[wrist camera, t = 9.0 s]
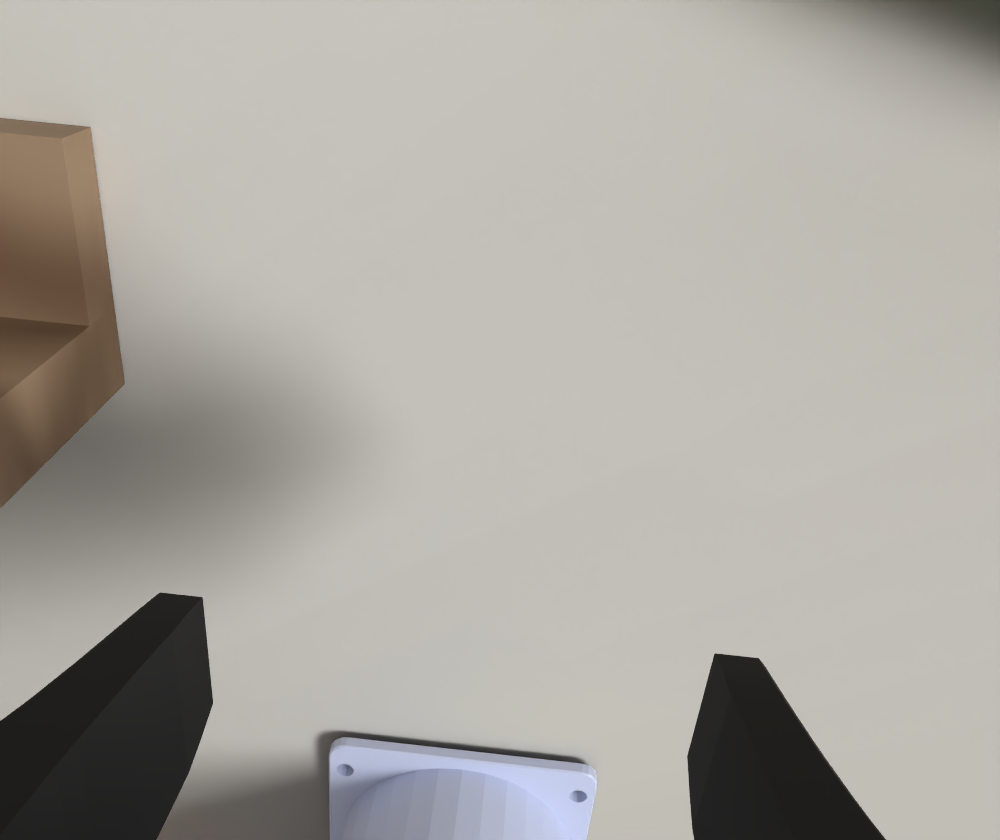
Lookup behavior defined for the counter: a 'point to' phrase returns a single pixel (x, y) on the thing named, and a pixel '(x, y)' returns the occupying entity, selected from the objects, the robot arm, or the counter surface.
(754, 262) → the counter surface
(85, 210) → the slotted wooden block
